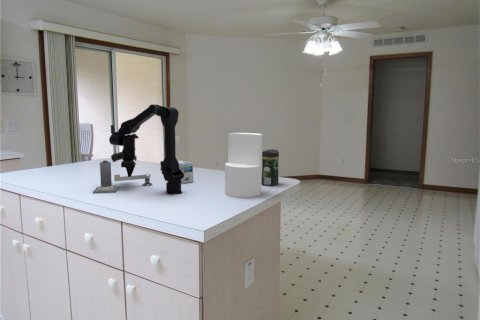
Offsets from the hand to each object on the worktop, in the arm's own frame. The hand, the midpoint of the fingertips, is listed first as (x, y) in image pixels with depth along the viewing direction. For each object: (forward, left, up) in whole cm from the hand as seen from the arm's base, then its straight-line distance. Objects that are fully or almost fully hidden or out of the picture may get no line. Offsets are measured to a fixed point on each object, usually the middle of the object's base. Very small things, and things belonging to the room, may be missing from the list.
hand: (129, 177), depth 175 cm
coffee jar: (-72, +7, -5) cm, 72 cm away
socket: (+10, +8, -4) cm, 13 cm away
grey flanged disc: (-9, -1, -4) cm, 10 cm away
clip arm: (-2, +1, -1) cm, 2 cm away
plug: (+10, +8, -3) cm, 13 cm away
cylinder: (-54, +23, -5) cm, 59 cm away
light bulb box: (-27, -7, -5) cm, 28 cm away
